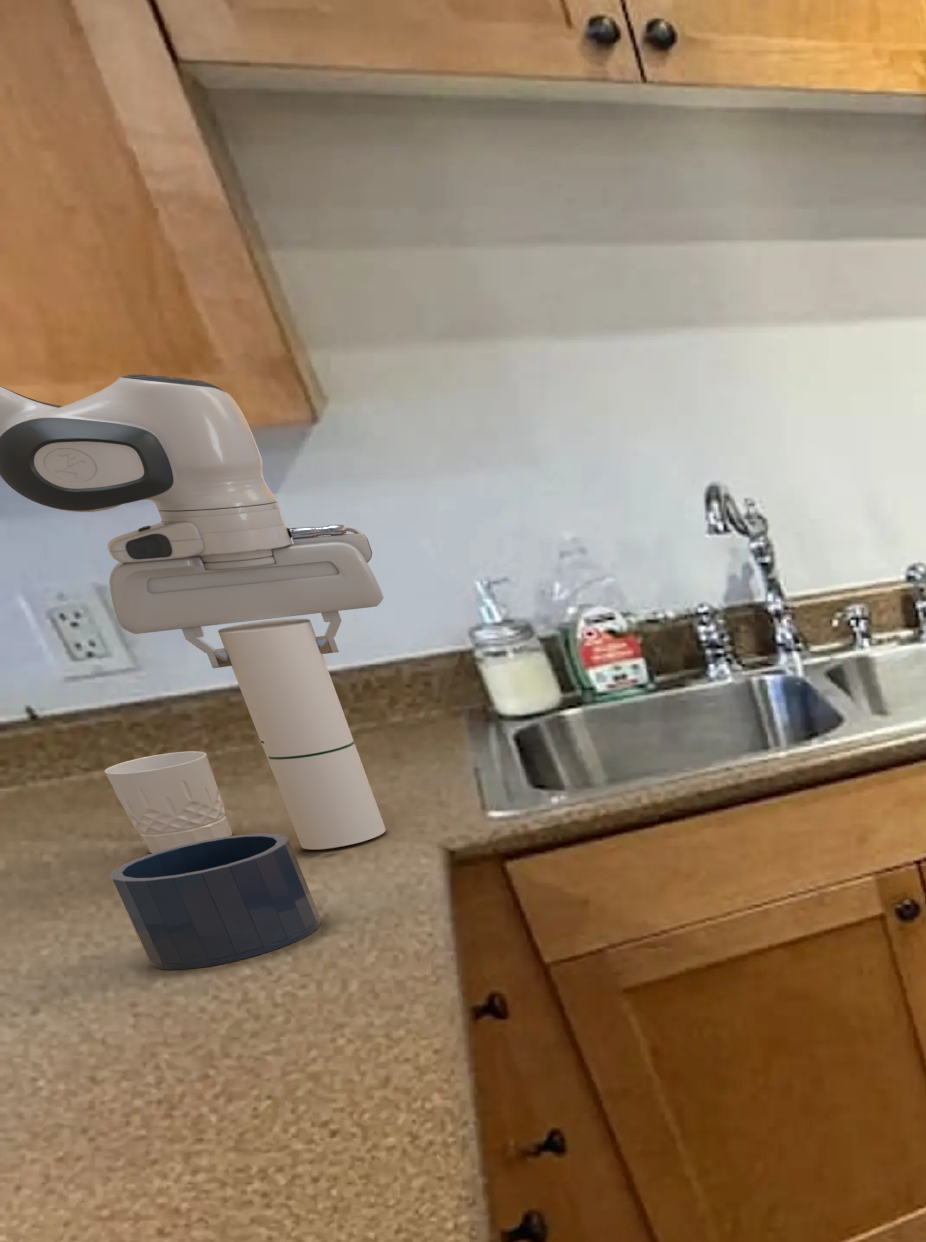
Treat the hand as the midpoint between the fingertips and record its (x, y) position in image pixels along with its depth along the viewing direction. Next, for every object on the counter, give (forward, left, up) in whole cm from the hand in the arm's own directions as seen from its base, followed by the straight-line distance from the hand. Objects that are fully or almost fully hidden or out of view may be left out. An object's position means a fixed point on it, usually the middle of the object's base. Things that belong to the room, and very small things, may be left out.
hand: (276, 659), depth 144 cm
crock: (+14, -27, -22) cm, 37 cm away
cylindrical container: (0, 0, -21) cm, 21 cm away
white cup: (-18, 0, -22) cm, 28 cm away
